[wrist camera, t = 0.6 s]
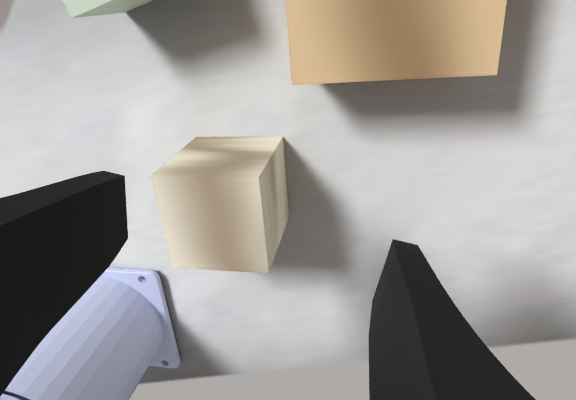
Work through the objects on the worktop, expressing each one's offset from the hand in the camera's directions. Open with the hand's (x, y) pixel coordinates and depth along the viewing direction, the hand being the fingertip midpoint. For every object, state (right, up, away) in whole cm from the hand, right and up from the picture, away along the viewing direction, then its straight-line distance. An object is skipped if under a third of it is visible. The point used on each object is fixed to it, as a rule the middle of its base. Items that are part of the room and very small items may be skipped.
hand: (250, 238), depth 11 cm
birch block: (-1, +2, +11) cm, 11 cm away
